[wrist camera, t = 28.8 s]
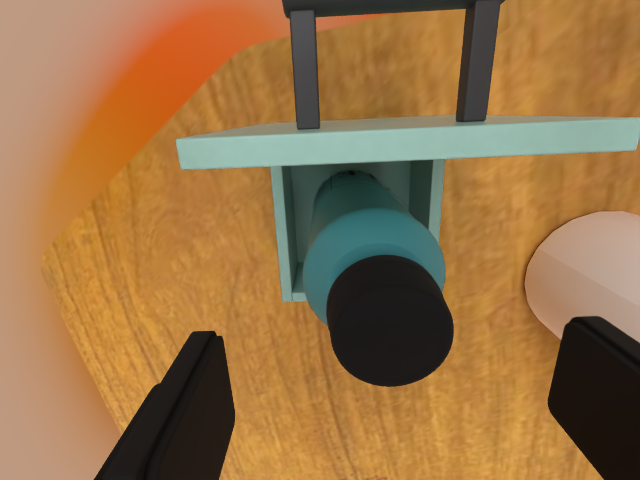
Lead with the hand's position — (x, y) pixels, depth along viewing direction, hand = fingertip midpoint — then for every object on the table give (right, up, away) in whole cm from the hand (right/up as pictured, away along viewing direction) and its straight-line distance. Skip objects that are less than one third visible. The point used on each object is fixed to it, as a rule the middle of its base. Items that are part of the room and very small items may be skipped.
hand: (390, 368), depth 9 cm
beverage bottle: (+1, +7, +20) cm, 21 cm away
